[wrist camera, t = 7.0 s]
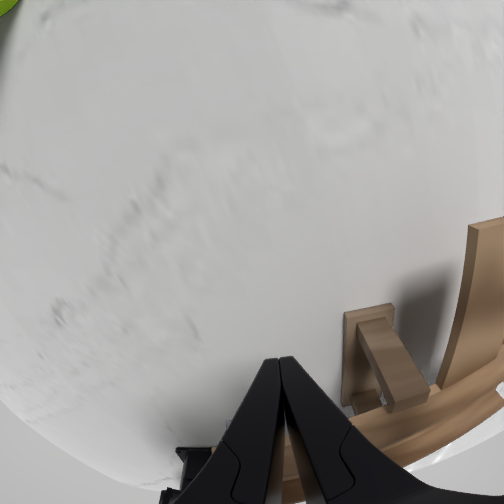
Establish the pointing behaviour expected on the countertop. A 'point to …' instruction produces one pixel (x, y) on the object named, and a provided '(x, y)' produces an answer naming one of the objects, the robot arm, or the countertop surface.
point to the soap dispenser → (6, 5)
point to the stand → (378, 364)
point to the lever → (444, 369)
